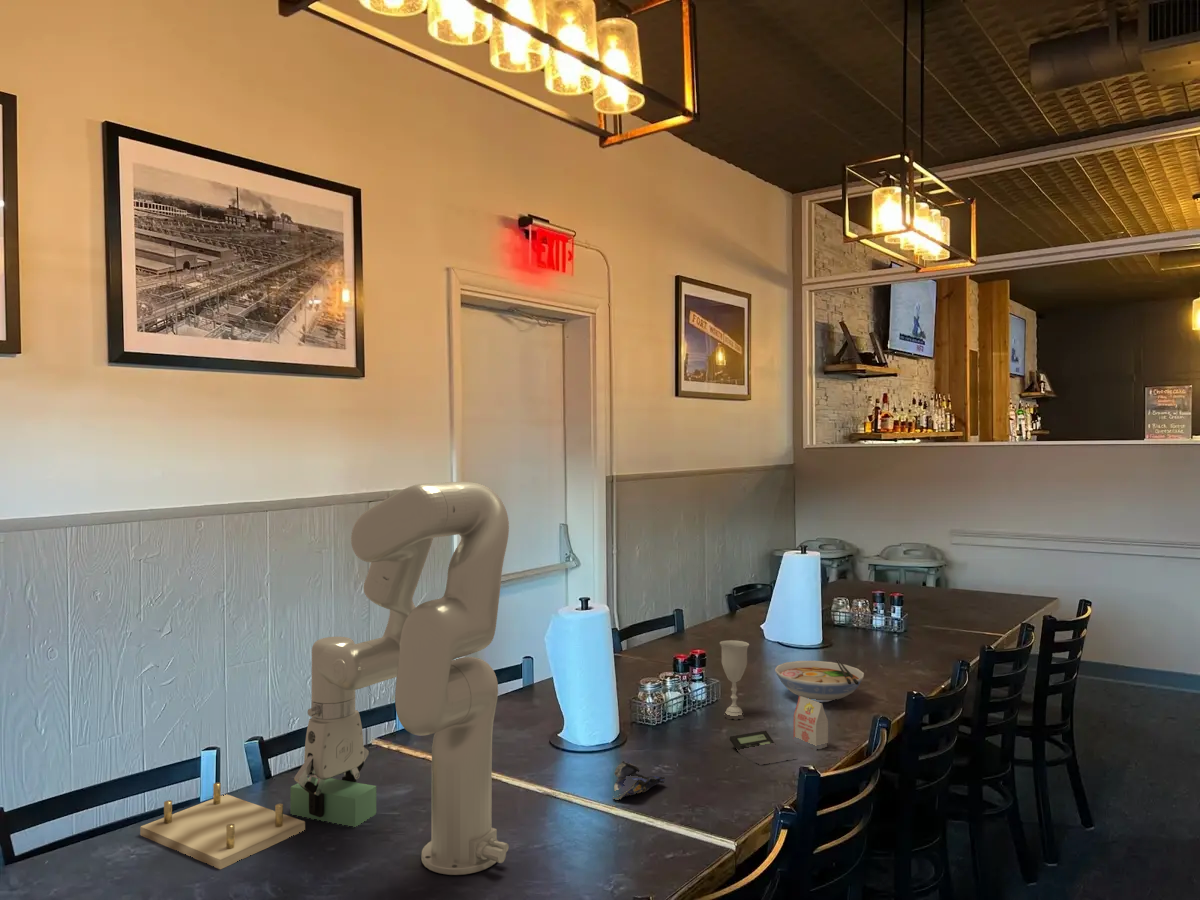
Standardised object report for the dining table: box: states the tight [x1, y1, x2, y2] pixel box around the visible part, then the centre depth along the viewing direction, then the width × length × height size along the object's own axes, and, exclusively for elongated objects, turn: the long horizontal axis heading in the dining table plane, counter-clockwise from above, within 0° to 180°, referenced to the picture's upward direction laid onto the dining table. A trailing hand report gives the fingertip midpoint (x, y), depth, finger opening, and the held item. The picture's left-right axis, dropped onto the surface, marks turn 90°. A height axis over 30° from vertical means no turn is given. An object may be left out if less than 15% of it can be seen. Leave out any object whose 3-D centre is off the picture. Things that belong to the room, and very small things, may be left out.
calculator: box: [729, 730, 775, 750], centre depth 183 cm, size 9×12×3 cm
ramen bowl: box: [774, 659, 865, 701], centre depth 223 cm, size 25×23×8 cm
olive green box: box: [289, 777, 377, 828], centre depth 152 cm, size 14×6×5 cm, turn 69°
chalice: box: [719, 639, 750, 716], centre depth 208 cm, size 7×7×18 cm
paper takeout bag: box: [793, 696, 829, 746], centre depth 189 cm, size 4×7×10 cm, turn 32°
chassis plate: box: [139, 782, 306, 870], centre depth 144 cm, size 22×16×5 cm
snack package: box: [612, 760, 666, 800], centre depth 163 cm, size 12×6×12 cm
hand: (333, 806), depth 152 cm, fingers closed on olive green box, 6 cm apart
